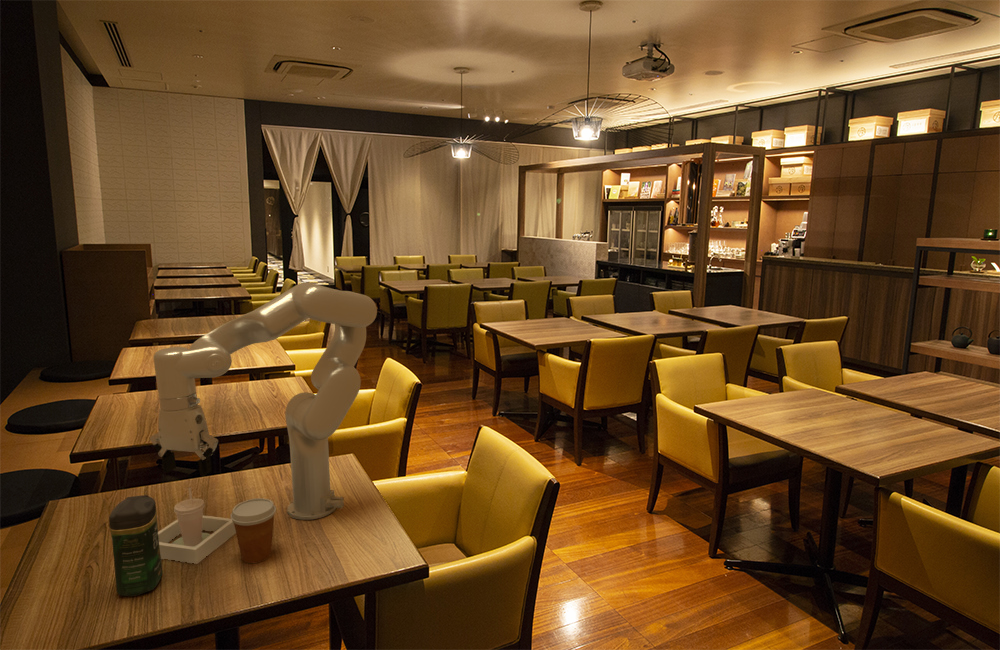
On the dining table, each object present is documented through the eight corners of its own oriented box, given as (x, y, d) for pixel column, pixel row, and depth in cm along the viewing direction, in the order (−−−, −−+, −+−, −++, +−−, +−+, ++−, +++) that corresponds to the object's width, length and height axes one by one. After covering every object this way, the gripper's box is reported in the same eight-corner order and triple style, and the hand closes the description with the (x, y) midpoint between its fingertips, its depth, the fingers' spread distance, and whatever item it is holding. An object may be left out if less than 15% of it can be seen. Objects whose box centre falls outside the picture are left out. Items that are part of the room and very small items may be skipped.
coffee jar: (157, 594, 122) (147, 510, 119) (112, 601, 120) (102, 516, 117) (167, 568, 131) (158, 489, 128) (126, 574, 129) (116, 494, 126)
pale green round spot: (221, 536, 144) (221, 535, 144) (195, 556, 136) (194, 555, 136) (189, 532, 146) (189, 530, 146) (161, 552, 138) (161, 550, 138)
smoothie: (195, 551, 137) (189, 494, 135) (171, 548, 138) (165, 491, 136) (213, 536, 143) (208, 482, 141) (190, 534, 145) (185, 480, 142)
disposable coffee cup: (235, 572, 130) (231, 521, 128) (232, 550, 138) (228, 502, 136) (281, 560, 134) (278, 511, 132) (276, 540, 143) (272, 494, 140)
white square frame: (236, 532, 146) (235, 519, 146) (196, 564, 133) (195, 549, 132) (187, 526, 149) (186, 513, 149) (143, 556, 136) (141, 542, 135)
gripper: (223, 398, 137) (231, 468, 140) (158, 395, 140) (168, 462, 144) (200, 409, 129) (209, 482, 133) (133, 405, 133) (143, 476, 136)
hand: (188, 472), depth 138 cm, fingers open, 9 cm apart
